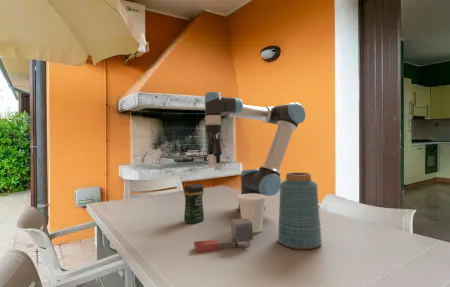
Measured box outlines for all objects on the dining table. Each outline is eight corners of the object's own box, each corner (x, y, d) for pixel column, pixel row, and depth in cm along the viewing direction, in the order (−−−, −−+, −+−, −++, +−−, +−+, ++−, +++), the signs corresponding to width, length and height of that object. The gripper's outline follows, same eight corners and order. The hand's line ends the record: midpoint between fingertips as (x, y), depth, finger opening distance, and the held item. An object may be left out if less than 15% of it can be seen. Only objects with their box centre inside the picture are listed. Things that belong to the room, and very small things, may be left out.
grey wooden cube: (247, 233, 107) (246, 218, 107) (252, 239, 101) (252, 223, 101) (231, 235, 106) (231, 219, 106) (236, 241, 100) (235, 224, 100)
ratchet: (246, 241, 107) (246, 224, 107) (252, 247, 101) (251, 228, 101) (193, 247, 102) (193, 229, 102) (196, 254, 96) (195, 234, 96)
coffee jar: (191, 225, 130) (191, 186, 130) (181, 221, 135) (181, 184, 135) (206, 220, 137) (206, 183, 137) (196, 217, 142) (196, 182, 142)
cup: (268, 227, 124) (268, 194, 124) (263, 236, 112) (263, 199, 112) (242, 225, 128) (241, 192, 128) (234, 234, 116) (234, 198, 116)
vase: (315, 254, 94) (314, 177, 94) (271, 245, 103) (270, 175, 102) (326, 239, 108) (324, 172, 107) (286, 232, 116) (285, 170, 116)
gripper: (201, 126, 142) (202, 166, 142) (211, 123, 118) (212, 171, 118) (215, 126, 144) (216, 166, 144) (227, 122, 120) (229, 170, 120)
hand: (214, 168), depth 131 cm, fingers open, 13 cm apart
